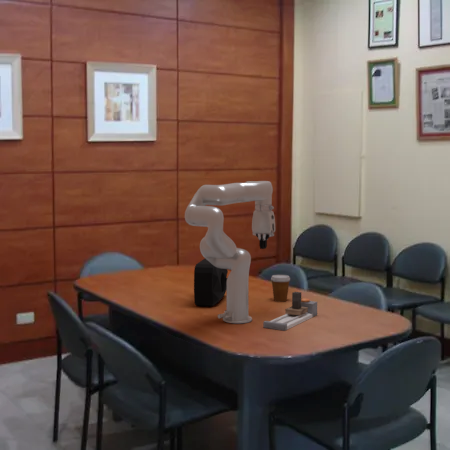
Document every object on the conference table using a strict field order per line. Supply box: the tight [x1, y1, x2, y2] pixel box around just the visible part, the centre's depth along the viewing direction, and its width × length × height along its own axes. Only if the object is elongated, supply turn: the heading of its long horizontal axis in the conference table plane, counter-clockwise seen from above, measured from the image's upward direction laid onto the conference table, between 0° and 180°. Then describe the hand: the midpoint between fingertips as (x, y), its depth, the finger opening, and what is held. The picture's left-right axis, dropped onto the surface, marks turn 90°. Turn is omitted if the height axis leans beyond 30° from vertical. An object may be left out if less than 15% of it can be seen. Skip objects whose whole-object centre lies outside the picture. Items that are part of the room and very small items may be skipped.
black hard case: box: [193, 258, 229, 307], centre depth 347 cm, size 30×12×20 cm, turn 168°
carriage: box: [284, 291, 308, 316], centre depth 312 cm, size 8×7×9 cm
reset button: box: [301, 297, 311, 302], centre depth 319 cm, size 4×4×2 cm
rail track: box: [262, 300, 318, 332], centre depth 308 cm, size 32×10×6 cm, turn 148°
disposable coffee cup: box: [270, 274, 291, 303], centre depth 349 cm, size 10×10×12 cm
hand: (263, 248), depth 324 cm, fingers closed
